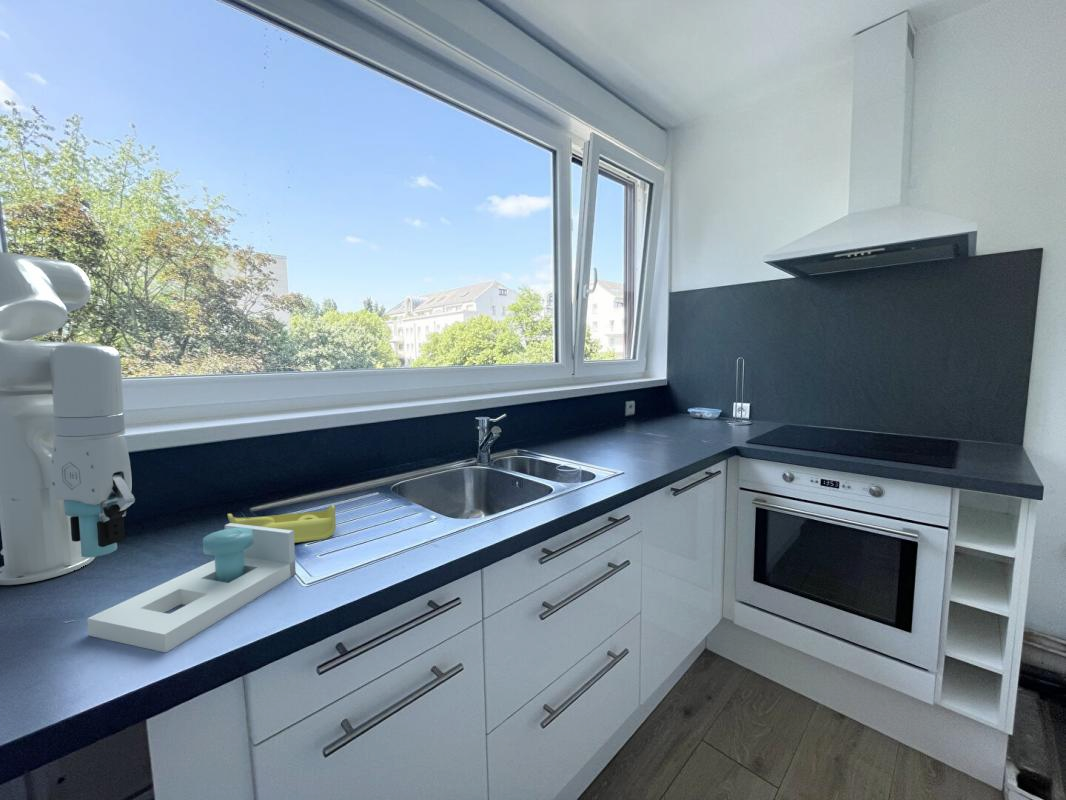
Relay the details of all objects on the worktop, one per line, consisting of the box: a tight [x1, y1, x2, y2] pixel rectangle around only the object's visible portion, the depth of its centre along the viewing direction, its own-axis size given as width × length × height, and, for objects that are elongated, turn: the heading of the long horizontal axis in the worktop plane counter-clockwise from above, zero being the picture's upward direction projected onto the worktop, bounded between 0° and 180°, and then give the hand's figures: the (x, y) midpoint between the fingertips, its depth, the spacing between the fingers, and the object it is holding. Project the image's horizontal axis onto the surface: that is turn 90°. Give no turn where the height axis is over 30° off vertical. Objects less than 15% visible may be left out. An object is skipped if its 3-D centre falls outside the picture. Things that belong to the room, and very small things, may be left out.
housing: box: [86, 522, 297, 654], centre depth 70 cm, size 14×22×8 cm, turn 166°
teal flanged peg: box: [202, 527, 253, 583], centre depth 74 cm, size 7×7×9 cm
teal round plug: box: [64, 494, 118, 558], centre depth 69 cm, size 7×7×9 cm
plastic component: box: [227, 504, 337, 544], centre depth 95 cm, size 20×7×10 cm
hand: (98, 539), depth 69 cm, fingers closed on teal round plug, 4 cm apart
